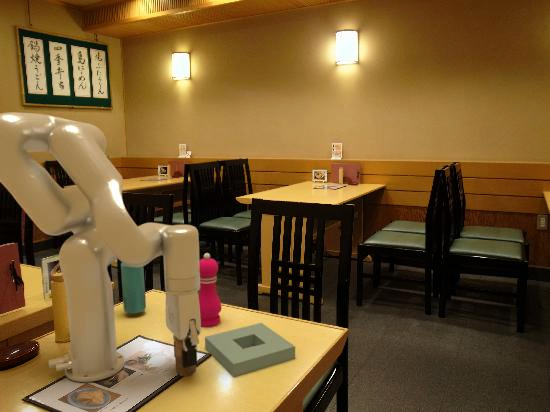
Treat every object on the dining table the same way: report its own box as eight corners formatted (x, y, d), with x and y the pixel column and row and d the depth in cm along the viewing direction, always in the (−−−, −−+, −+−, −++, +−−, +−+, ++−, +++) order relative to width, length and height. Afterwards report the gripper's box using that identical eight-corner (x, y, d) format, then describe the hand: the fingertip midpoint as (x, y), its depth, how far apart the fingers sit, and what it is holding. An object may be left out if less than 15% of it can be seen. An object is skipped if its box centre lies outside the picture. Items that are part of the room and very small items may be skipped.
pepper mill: (208, 330, 126) (206, 258, 123) (190, 323, 130) (187, 253, 127) (227, 321, 132) (225, 252, 128) (208, 315, 136) (206, 248, 133)
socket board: (234, 377, 102) (233, 364, 101) (205, 348, 115) (204, 336, 115) (295, 358, 110) (295, 346, 110) (261, 333, 124) (261, 322, 123)
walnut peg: (179, 378, 102) (178, 339, 100) (173, 369, 105) (171, 331, 104) (198, 372, 104) (197, 334, 102) (191, 364, 108) (190, 327, 106)
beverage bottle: (151, 312, 138) (148, 246, 135) (133, 320, 133) (129, 251, 129) (136, 308, 142) (132, 244, 138) (118, 315, 136) (114, 248, 133)
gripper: (153, 275, 106) (157, 350, 109) (179, 297, 92) (182, 383, 95) (185, 269, 110) (187, 342, 113) (214, 290, 96) (216, 373, 99)
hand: (185, 360), depth 104 cm, fingers closed on walnut peg, 4 cm apart
